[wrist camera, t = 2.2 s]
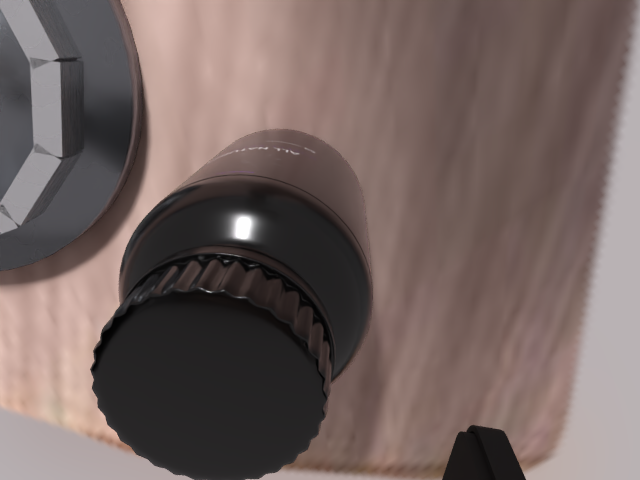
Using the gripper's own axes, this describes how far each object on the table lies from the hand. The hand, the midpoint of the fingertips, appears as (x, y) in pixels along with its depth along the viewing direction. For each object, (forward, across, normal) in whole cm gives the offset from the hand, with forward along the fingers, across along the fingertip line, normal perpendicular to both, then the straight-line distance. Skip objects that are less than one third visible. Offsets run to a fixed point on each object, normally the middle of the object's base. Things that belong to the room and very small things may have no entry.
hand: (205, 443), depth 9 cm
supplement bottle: (+13, 0, -1) cm, 13 cm away
